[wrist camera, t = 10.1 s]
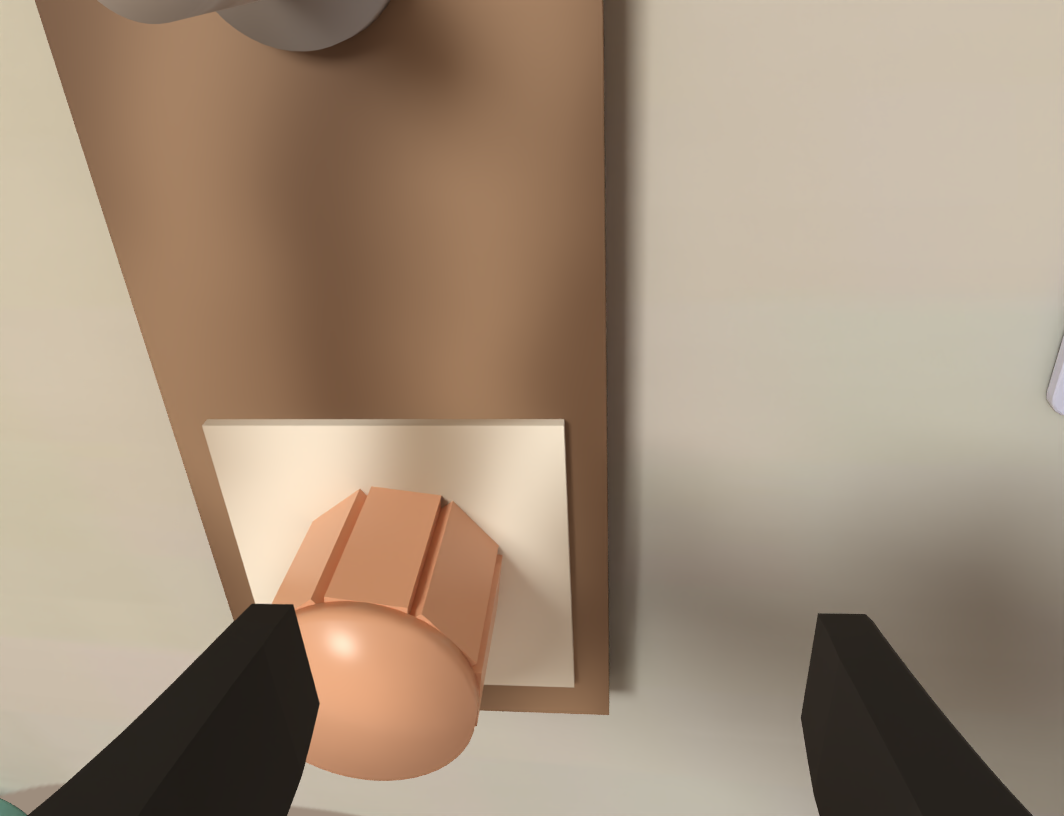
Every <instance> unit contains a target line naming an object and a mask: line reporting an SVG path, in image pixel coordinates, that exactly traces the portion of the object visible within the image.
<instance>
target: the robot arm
mask: <svg viewBox="0 0 1064 816" xmlns="http://www.w3.org/2000/svg"><path fill="white" fill-rule="evenodd" d="M1047 401H1048V402H1049V404H1050V406H1051V407H1052V408H1053V409H1054V410H1055V411H1056V412H1058V413H1059V414H1061V415H1064V336H1063V340H1062V343H1061V346H1060V350H1059V353H1058V356H1057V360H1056V363H1055V366H1054V370H1053V373H1052V376H1051V380H1050V383H1049V387H1048V390H1047ZM319 705H320V702H319V699H318V695H317V691H316V687H315V684H314V680H313V676H312V672H311V669H310V665H309V661H308V657H307V654H306V650H305V646H304V642H303V639H302V635H301V631H300V627H299V624H298V620H297V616H296V612H295V609H294V605H293V604H251V605H250V606H249V607H248V608H247V609H246V610H245V611H244V612H243V613H242V614H241V615H240V616H239V617H238V618H237V619H236V620H235V621H234V622H233V623H232V624H231V625H230V626H229V627H228V628H227V629H226V630H225V631H224V632H223V633H222V634H221V635H220V636H219V637H218V638H217V639H216V640H215V641H214V642H213V643H212V644H211V645H210V646H209V647H208V648H207V649H206V650H205V651H204V652H203V653H202V654H201V655H200V656H199V657H198V658H197V659H196V660H195V661H194V662H193V663H192V664H191V665H190V666H189V667H188V668H187V669H186V670H185V671H184V672H183V673H182V674H181V675H180V676H179V677H178V678H177V679H176V680H175V681H174V682H173V683H172V684H171V685H170V686H169V687H168V688H167V689H166V690H165V691H164V692H163V693H162V694H161V695H160V696H159V697H158V698H157V699H156V700H155V701H154V702H153V703H152V704H151V705H150V706H149V707H148V708H147V709H146V710H145V711H144V712H143V713H142V714H141V715H140V716H139V717H138V718H137V719H136V720H134V721H133V722H132V723H131V724H130V725H129V726H128V727H127V728H126V729H125V730H124V731H123V732H122V733H121V734H120V735H119V736H118V737H117V738H115V739H114V740H113V741H112V742H111V743H110V744H109V745H108V746H107V747H106V748H104V749H103V750H102V751H101V752H100V753H99V754H98V755H97V756H96V757H94V758H93V759H92V760H91V761H90V762H89V763H88V764H87V765H86V766H85V767H83V768H82V769H81V770H80V771H79V772H78V773H77V774H76V775H75V776H74V777H72V778H71V779H70V780H69V781H68V782H67V783H66V784H65V785H63V786H62V787H61V788H60V789H59V790H58V791H56V792H55V793H54V794H53V795H52V796H51V797H49V798H48V799H47V800H46V801H45V802H43V803H42V804H41V805H40V806H38V807H37V808H36V809H35V810H34V811H32V812H31V813H30V814H29V815H28V816H287V814H288V812H289V809H290V806H291V804H292V801H293V798H294V796H295V793H296V790H297V787H298V785H299V782H300V779H301V776H302V773H303V770H304V766H305V762H306V758H307V754H308V751H309V747H310V743H311V739H312V735H313V731H314V726H315V722H316V718H317V714H318V709H319ZM801 721H802V727H803V733H804V740H805V746H806V752H807V759H808V764H809V770H810V776H811V781H812V787H813V793H814V797H815V801H816V804H817V808H818V812H819V815H820V816H1032V814H1031V813H1030V812H1029V811H1028V810H1027V809H1026V808H1025V807H1024V806H1023V805H1022V804H1021V803H1020V801H1019V800H1018V799H1017V798H1016V797H1015V796H1014V795H1013V794H1012V793H1011V792H1010V791H1009V790H1008V788H1007V787H1006V786H1005V785H1004V784H1003V783H1002V782H1001V780H1000V779H999V778H998V777H997V776H996V775H995V774H994V773H993V771H992V770H991V769H990V768H989V767H988V766H987V765H986V763H985V762H984V761H983V760H982V759H981V758H980V756H979V755H978V754H977V753H976V752H975V750H974V749H973V748H972V747H971V746H970V745H969V743H968V742H967V741H966V740H965V739H964V737H963V736H962V735H961V734H960V733H959V732H958V730H957V729H956V728H955V727H954V726H953V724H952V723H951V722H950V721H949V720H948V718H947V717H946V716H945V715H944V713H943V712H942V711H941V710H940V709H939V707H938V706H937V705H936V704H935V702H934V701H933V700H932V699H931V697H930V696H929V695H928V693H927V692H926V691H925V690H924V688H923V687H922V686H921V685H920V683H919V682H918V681H917V679H916V678H915V677H914V676H913V674H912V673H911V672H910V670H909V669H908V668H907V666H906V665H905V664H904V663H903V661H902V660H901V659H900V657H899V656H898V655H897V653H896V652H895V651H894V649H893V648H892V647H891V645H890V644H889V643H888V641H887V640H886V639H885V637H884V636H883V634H882V633H881V632H880V630H879V629H878V628H877V626H876V625H875V624H874V622H873V621H872V620H871V619H870V618H869V617H868V616H867V615H866V614H819V613H818V617H817V623H816V629H815V635H814V642H813V648H812V654H811V660H810V666H809V672H808V678H807V684H806V690H805V696H804V703H803V709H802V715H801Z"/></svg>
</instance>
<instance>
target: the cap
mask: <svg viewBox="0 0 1064 816" xmlns="http://www.w3.org/2000/svg"><path fill="white" fill-rule="evenodd" d="M498 547H499V545H498V544H497V543H496V542H495V541H494V540H493V539H491V538H490V537H489V536H488V535H487V534H486V533H485V532H484V531H483V530H482V529H481V528H480V527H479V526H478V525H477V524H476V523H475V522H474V521H473V520H472V519H471V518H470V517H469V516H468V515H467V514H466V513H465V512H464V511H463V510H462V509H461V508H460V507H459V506H458V505H457V504H456V503H455V502H454V501H452V502H450V503H449V504H447V505H446V506H444V507H442V508H441V495H435V494H427V493H419V492H412V491H404V490H396V489H389V488H381V487H373V486H371V488H370V491H369V493H368V495H366V494H365V493H364V492H363V491H362V490H361V489H359V490H357V491H356V492H354V493H353V494H351V495H350V496H348V497H347V498H346V499H344V500H343V501H341V502H340V503H338V504H337V505H335V506H334V507H333V508H331V509H330V510H328V511H327V512H325V513H324V514H322V515H321V516H320V517H318V518H317V519H315V520H314V521H313V522H312V524H311V526H310V528H309V530H308V532H307V534H306V536H305V538H304V540H303V542H302V544H301V546H300V548H299V550H298V552H297V554H296V556H295V558H294V560H293V562H292V564H291V566H290V568H289V570H288V572H287V574H286V576H285V578H284V580H283V582H282V584H281V586H280V588H279V590H278V592H277V594H276V596H275V598H274V600H273V602H272V604H293V605H294V609H295V612H296V616H297V620H298V624H299V627H300V631H301V635H302V639H303V642H304V646H305V650H306V654H307V657H308V661H309V665H310V669H311V672H312V676H313V680H314V684H315V687H316V691H317V695H318V699H319V702H320V705H319V709H318V714H317V718H316V722H315V726H314V731H313V735H312V739H311V743H310V747H309V751H308V754H307V758H306V762H307V763H309V764H312V765H314V766H316V767H318V768H321V769H324V770H326V771H329V772H332V773H335V774H339V775H343V776H347V777H352V778H358V779H365V780H377V781H391V780H403V779H409V778H415V777H419V776H422V775H426V774H429V773H431V772H434V771H436V770H439V769H440V768H442V767H444V766H446V765H448V764H449V763H450V762H452V761H453V760H454V759H456V758H457V757H458V756H459V755H460V754H461V753H462V752H463V750H464V749H465V748H466V746H467V745H468V743H469V742H470V739H471V737H472V734H473V732H474V726H477V722H478V716H479V710H480V704H481V698H482V693H483V687H484V681H485V675H486V669H487V663H488V658H489V652H490V646H491V640H492V634H493V628H494V623H495V617H496V611H497V605H498V595H499V585H500V575H501V565H502V555H499V554H497V552H498Z"/></svg>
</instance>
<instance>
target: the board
mask: <svg viewBox="0 0 1064 816" xmlns="http://www.w3.org/2000/svg"><path fill="white" fill-rule="evenodd" d="M35 2H36V5H37V8H38V12H39V15H40V18H41V21H42V24H43V27H44V30H45V33H46V37H47V40H48V43H49V46H50V49H51V52H52V55H53V58H54V61H55V65H56V68H57V71H58V74H59V77H60V80H61V83H62V86H63V90H64V93H65V96H66V99H67V102H68V105H69V108H70V111H71V114H72V118H73V121H74V124H75V127H76V130H77V133H78V136H79V139H80V143H81V146H82V149H83V152H84V155H85V158H86V161H87V164H88V167H89V171H90V174H91V177H92V180H93V183H94V186H95V189H96V192H97V196H98V199H99V202H100V205H101V208H102V211H103V214H104V217H105V220H106V224H107V227H108V230H109V233H110V236H111V239H112V242H113V245H114V249H115V252H116V255H117V258H118V261H119V264H120V267H121V270H122V273H123V277H124V280H125V283H126V286H127V289H128V292H129V295H130V298H131V302H132V305H133V308H134V311H135V314H136V317H137V320H138V323H139V326H140V330H141V333H142V336H143V339H144V342H145V345H146V348H147V351H148V354H149V358H150V361H151V364H152V367H153V370H154V373H155V376H156V379H157V383H158V386H159V389H160V392H161V395H162V398H163V401H164V404H165V407H166V411H167V414H168V417H169V420H170V423H171V426H172V429H173V432H174V436H175V439H176V442H177V445H178V448H179V451H180V454H181V457H182V460H183V464H184V467H185V470H186V473H187V476H188V479H189V482H190V485H191V489H192V492H193V495H194V498H195V501H196V504H197V507H198V510H199V513H200V517H201V520H202V523H203V526H204V529H205V532H206V535H207V538H208V542H209V545H210V548H211V551H212V554H213V557H214V560H215V563H216V566H217V570H218V573H219V576H220V579H221V582H222V585H223V588H224V591H225V595H226V598H227V601H228V604H229V607H230V610H231V613H232V616H233V619H234V621H235V620H236V619H237V618H238V617H239V616H240V615H241V614H242V613H243V612H244V611H245V610H246V609H247V608H248V607H249V606H250V605H251V604H272V602H273V600H274V598H275V596H276V594H277V592H278V590H279V588H280V586H281V584H282V582H283V580H284V578H285V576H286V574H287V572H288V570H289V568H290V566H291V564H292V562H293V560H294V558H295V556H296V554H297V552H298V550H299V548H300V546H301V544H302V542H303V540H304V538H305V536H306V534H307V532H308V530H309V528H310V526H311V524H312V522H313V521H314V520H315V519H317V518H318V517H320V516H321V515H322V514H324V513H325V512H327V511H328V510H330V509H331V508H333V507H334V506H335V505H337V504H338V503H340V502H341V501H343V500H344V499H346V498H347V497H348V496H350V495H351V494H353V493H354V492H356V491H357V490H359V489H361V490H362V491H363V492H364V493H365V494H366V495H368V493H369V491H370V488H371V486H373V487H381V488H389V489H396V490H404V491H412V492H419V493H427V494H435V495H441V508H442V507H444V506H446V505H447V504H449V503H450V502H452V501H454V502H455V503H456V504H457V505H458V506H459V507H460V508H461V509H462V510H463V511H464V512H465V513H466V514H467V515H468V516H469V517H470V518H471V519H472V520H473V521H474V522H475V523H476V524H477V525H478V526H479V527H480V528H481V529H482V530H483V531H484V532H485V533H486V534H487V535H488V536H489V537H490V538H491V539H493V540H494V541H495V542H496V543H497V544H498V545H499V547H498V552H497V554H499V555H502V565H501V575H500V585H499V595H498V605H497V611H496V617H495V623H494V628H493V634H492V640H491V646H490V652H489V658H488V663H487V669H486V675H485V681H484V687H483V693H482V698H481V704H480V710H485V711H513V712H542V713H570V714H598V715H609V589H608V477H607V364H606V251H605V139H604V26H603V0H35Z"/></svg>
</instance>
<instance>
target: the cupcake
mask: <svg viewBox="0 0 1064 816" xmlns="http://www.w3.org/2000/svg"><path fill="white" fill-rule="evenodd" d="M0 816H28V815H26V814H25V813H24V812H23V811H22V810H20V809H19V808H17V807H16V806H14V805H12V804H11V803H9V802H7V801H5V800H3V799H1V798H0Z"/></svg>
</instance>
